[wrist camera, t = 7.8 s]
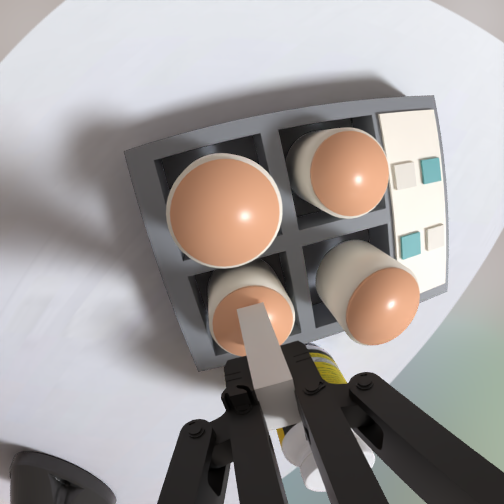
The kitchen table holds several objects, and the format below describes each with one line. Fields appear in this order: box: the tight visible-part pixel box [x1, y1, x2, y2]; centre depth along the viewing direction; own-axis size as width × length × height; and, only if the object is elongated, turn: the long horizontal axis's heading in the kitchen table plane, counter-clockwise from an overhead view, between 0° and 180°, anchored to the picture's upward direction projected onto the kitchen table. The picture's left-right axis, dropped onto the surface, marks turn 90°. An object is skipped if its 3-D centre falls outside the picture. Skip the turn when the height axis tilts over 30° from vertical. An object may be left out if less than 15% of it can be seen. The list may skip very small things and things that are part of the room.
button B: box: [166, 153, 282, 268], centre depth 16 cm, size 5×5×5 cm
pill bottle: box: [276, 345, 375, 492], centre depth 21 cm, size 6×6×11 cm
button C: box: [316, 240, 420, 345], centre depth 18 cm, size 5×5×5 cm
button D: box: [286, 127, 389, 219], centre depth 18 cm, size 5×5×5 cm
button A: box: [207, 258, 295, 356], centre depth 20 cm, size 5×5×5 cm
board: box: [124, 95, 449, 372], centre depth 21 cm, size 20×15×3 cm
